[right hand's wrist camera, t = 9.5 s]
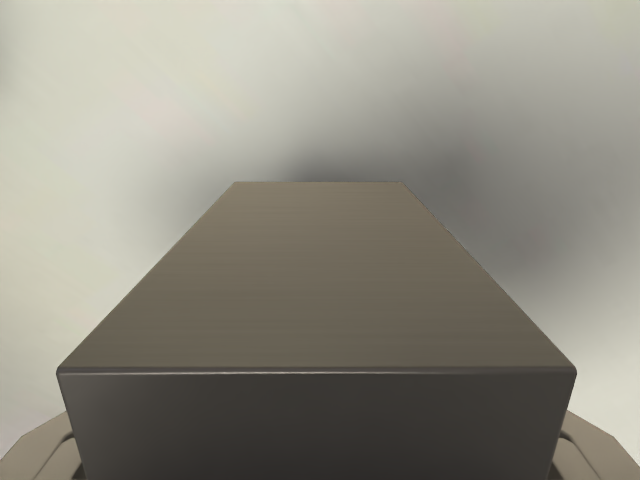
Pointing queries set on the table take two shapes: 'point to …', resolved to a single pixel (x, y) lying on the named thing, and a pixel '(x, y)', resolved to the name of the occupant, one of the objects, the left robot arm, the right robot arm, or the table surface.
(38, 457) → the right robot arm
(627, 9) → the table surface
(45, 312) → the table surface
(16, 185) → the table surface
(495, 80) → the table surface
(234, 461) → the bar
